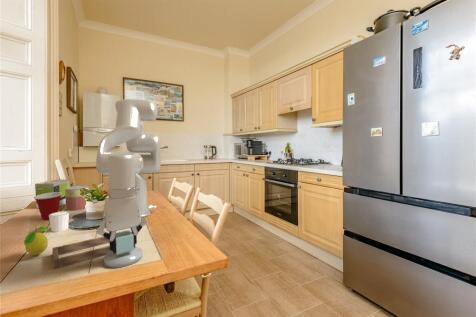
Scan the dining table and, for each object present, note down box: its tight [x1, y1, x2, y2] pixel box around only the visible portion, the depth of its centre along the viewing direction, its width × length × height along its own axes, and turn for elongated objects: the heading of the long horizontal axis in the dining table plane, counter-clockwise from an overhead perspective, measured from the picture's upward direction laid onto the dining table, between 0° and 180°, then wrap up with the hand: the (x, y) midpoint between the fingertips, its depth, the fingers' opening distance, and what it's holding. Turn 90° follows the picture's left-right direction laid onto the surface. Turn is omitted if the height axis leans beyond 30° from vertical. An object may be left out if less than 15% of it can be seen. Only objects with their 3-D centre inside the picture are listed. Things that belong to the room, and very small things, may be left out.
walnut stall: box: [52, 236, 112, 270], centre depth 77 cm, size 19×11×2 cm, turn 131°
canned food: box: [65, 185, 90, 212], centre depth 131 cm, size 11×11×12 cm
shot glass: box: [49, 211, 70, 233], centre depth 98 cm, size 7×7×7 cm
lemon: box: [23, 225, 49, 256], centre depth 75 cm, size 7×6×10 cm
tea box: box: [34, 178, 71, 210], centre depth 136 cm, size 15×10×15 cm
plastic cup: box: [33, 192, 62, 221], centre depth 112 cm, size 11×11×12 cm
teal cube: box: [115, 229, 134, 255], centre depth 73 cm, size 5×5×5 cm
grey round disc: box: [103, 246, 143, 269], centre depth 73 cm, size 11×11×2 cm
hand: (123, 248), depth 73 cm, fingers closed on teal cube, 4 cm apart
